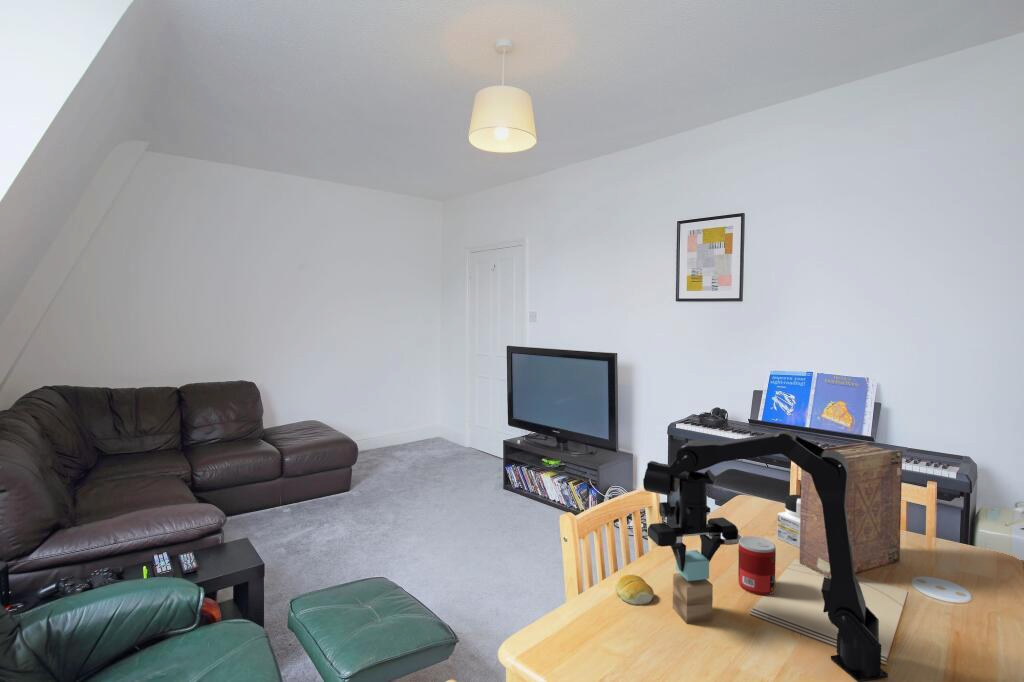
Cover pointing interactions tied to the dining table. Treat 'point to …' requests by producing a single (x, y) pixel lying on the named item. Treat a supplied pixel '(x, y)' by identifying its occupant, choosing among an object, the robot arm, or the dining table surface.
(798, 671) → the dining table surface
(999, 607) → the dining table surface
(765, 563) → the canned food
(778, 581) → the dining table surface
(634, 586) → the bread roll
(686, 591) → the tower top
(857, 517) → the book
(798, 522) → the container
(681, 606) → the tower base
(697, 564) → the teal block
